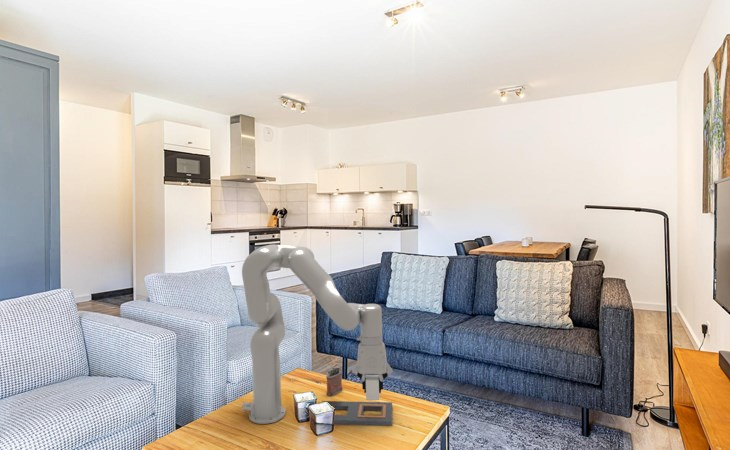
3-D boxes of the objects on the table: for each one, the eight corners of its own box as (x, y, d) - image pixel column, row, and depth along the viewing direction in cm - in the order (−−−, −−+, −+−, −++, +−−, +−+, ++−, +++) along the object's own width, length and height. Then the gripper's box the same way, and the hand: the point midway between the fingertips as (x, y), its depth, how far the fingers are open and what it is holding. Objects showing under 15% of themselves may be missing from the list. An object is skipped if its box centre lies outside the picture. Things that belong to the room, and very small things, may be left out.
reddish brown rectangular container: (337, 387, 170) (337, 363, 169) (344, 389, 168) (343, 365, 167) (324, 395, 163) (324, 369, 163) (331, 397, 161) (330, 371, 161)
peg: (366, 400, 144) (365, 380, 144) (367, 394, 149) (366, 375, 148) (379, 400, 144) (378, 380, 144) (379, 394, 148) (379, 375, 148)
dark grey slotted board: (315, 424, 141) (315, 419, 141) (322, 404, 155) (322, 400, 155) (392, 425, 139) (392, 420, 139) (392, 406, 153) (392, 401, 153)
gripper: (346, 343, 142) (347, 395, 143) (395, 343, 141) (397, 396, 142) (348, 336, 150) (350, 386, 150) (395, 336, 149) (396, 387, 149)
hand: (372, 390), depth 146 cm, fingers closed on peg, 4 cm apart
